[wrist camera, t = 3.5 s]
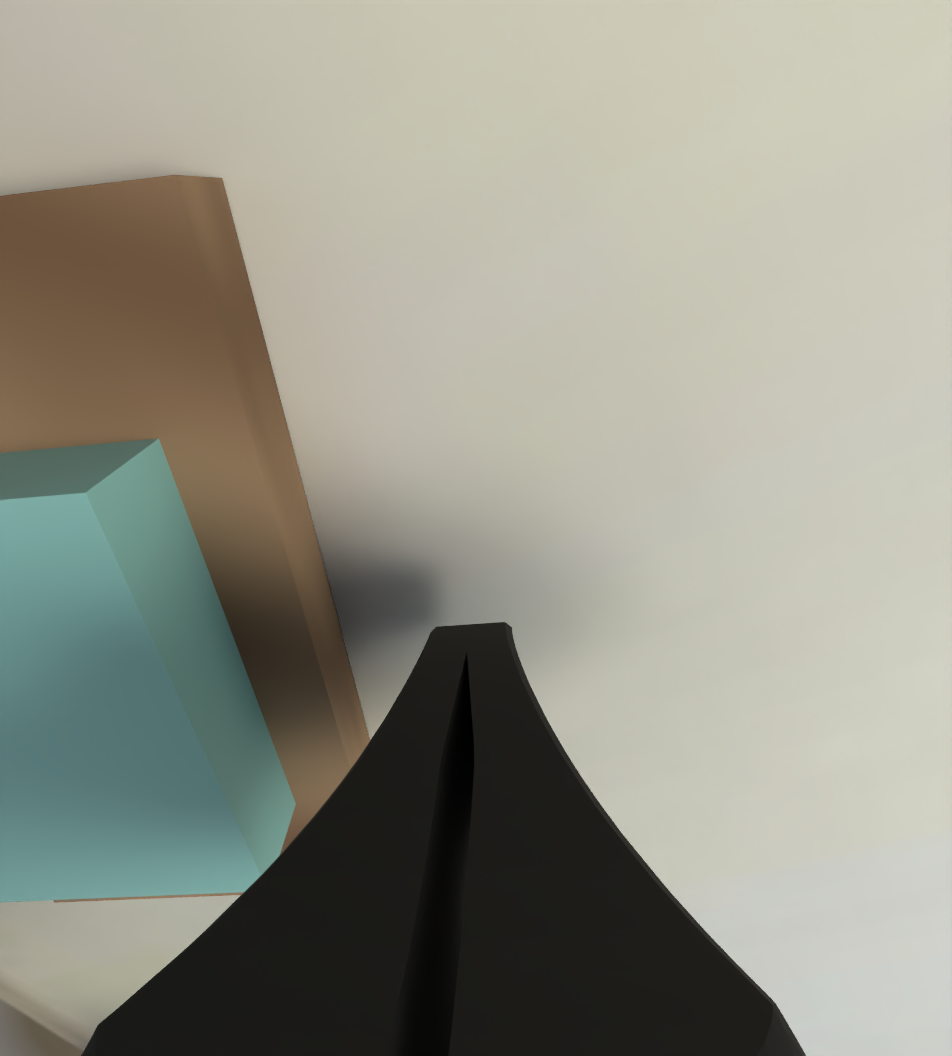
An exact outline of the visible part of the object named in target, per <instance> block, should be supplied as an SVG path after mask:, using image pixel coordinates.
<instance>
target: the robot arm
mask: <svg viewBox="0 0 952 1056" xmlns="http://www.w3.org/2000/svg"><path fill="white" fill-rule="evenodd" d="M81 1056H806V1055H805V1053H804V1051H803V1049H802V1048H801V1046H800V1044H799V1042H798V1041H797V1039H796V1037H795V1036H794V1034H793V1032H792V1030H791V1029H790V1027H789V1025H788V1024H787V1022H786V1020H785V1018H784V1017H783V1015H782V1013H781V1012H780V1010H779V1008H778V1007H777V1005H776V1004H775V1003H774V1001H773V1000H772V999H771V998H770V997H769V996H768V995H767V994H766V993H765V992H764V991H763V990H762V989H761V988H760V987H759V986H758V985H757V984H756V983H755V982H754V981H753V980H752V979H751V978H750V977H749V976H748V975H747V974H746V973H745V972H744V971H743V970H742V969H741V968H740V967H739V966H738V965H737V964H736V963H735V962H734V961H733V960H732V959H731V958H730V957H729V956H728V954H727V953H726V952H725V951H724V950H723V949H722V948H721V947H720V946H719V945H718V944H717V943H716V942H715V941H714V940H713V939H712V938H711V937H710V936H709V935H708V934H707V932H706V931H705V930H704V929H703V928H702V927H701V926H700V925H699V924H698V923H697V921H696V920H695V919H694V918H693V917H692V916H691V915H690V914H689V913H688V911H687V910H686V909H685V908H684V907H683V906H682V905H681V904H680V903H679V901H678V900H677V899H676V898H675V897H674V896H673V895H672V894H671V893H670V891H669V890H668V889H667V888H666V887H665V886H664V884H663V883H662V882H661V881H660V879H659V878H658V877H657V876H656V875H655V873H654V872H653V871H652V870H651V868H650V867H649V866H648V865H647V864H646V862H645V861H644V860H643V859H642V858H641V856H640V855H639V854H638V853H637V851H636V850H635V849H634V848H633V847H632V845H631V844H630V843H629V842H628V840H627V839H626V838H625V837H624V836H623V834H622V833H621V832H620V830H619V829H618V828H617V826H616V825H615V824H614V822H613V821H612V820H611V818H610V817H609V816H608V814H607V813H606V811H605V810H604V809H603V807H602V806H601V805H600V803H599V802H598V801H597V799H596V798H595V796H594V795H593V793H592V792H591V790H590V789H589V787H588V786H587V785H586V783H585V782H584V780H583V779H582V777H581V776H580V774H579V773H578V771H577V769H576V768H575V766H574V765H573V763H572V762H571V760H570V758H569V757H568V755H567V753H566V752H565V750H564V748H563V747H562V745H561V743H560V742H559V740H558V738H557V736H556V735H555V733H554V731H553V730H552V728H551V726H550V724H549V722H548V720H547V718H546V717H545V715H544V713H543V711H542V709H541V707H540V705H539V703H538V701H537V699H536V697H535V695H534V692H533V690H532V688H531V686H530V684H529V682H528V679H527V677H526V675H525V672H524V670H523V667H522V665H521V662H520V660H519V657H518V654H517V651H516V647H515V644H514V640H513V635H512V627H511V626H509V625H508V624H507V623H505V622H501V623H486V624H471V625H456V626H441V627H436V628H435V629H434V630H433V631H432V632H431V633H430V635H429V638H428V640H427V642H426V645H425V647H424V649H423V651H422V653H421V655H420V657H419V659H418V661H417V663H416V665H415V667H414V669H413V671H412V673H411V674H410V676H409V678H408V680H407V682H406V684H405V685H404V687H403V689H402V691H401V692H400V694H399V696H398V697H397V699H396V701H395V703H394V704H393V706H392V708H391V709H390V711H389V713H388V714H387V716H386V718H385V719H384V721H383V722H382V724H381V725H380V727H379V728H378V730H377V731H376V733H375V734H374V736H373V737H372V739H371V740H370V742H369V743H368V745H367V746H366V748H365V749H364V751H363V752H362V754H361V755H360V757H359V758H358V760H357V761H356V763H355V764H354V765H353V767H352V768H351V769H350V771H349V772H348V774H347V775H346V776H345V778H344V779H343V780H342V782H341V783H340V784H339V786H338V787H337V788H336V789H335V791H334V792H333V793H332V794H331V796H330V797H329V798H328V800H327V801H326V802H325V803H324V805H323V806H322V807H321V808H320V810H319V811H318V812H317V813H316V814H315V816H314V817H313V818H312V819H311V820H310V821H309V823H308V824H307V825H306V826H305V827H304V828H303V829H302V831H301V832H300V833H299V834H298V835H297V836H296V838H295V839H294V840H293V841H292V842H291V843H290V844H289V846H288V847H287V848H286V849H285V850H284V851H283V852H282V853H281V855H280V856H279V857H278V858H277V859H276V860H275V861H274V862H273V863H272V864H271V865H270V866H269V868H268V869H267V870H266V871H265V872H264V873H263V874H262V875H261V876H260V877H259V878H258V879H257V880H256V881H255V882H254V883H253V884H252V885H251V886H250V887H249V888H248V889H247V890H246V891H245V892H244V893H243V894H242V895H241V896H240V897H239V898H238V899H237V900H236V901H235V902H234V903H233V904H232V905H231V906H230V907H229V908H228V909H227V910H226V911H225V912H224V913H223V914H222V915H221V916H220V917H219V918H218V919H217V920H216V921H215V922H214V923H213V924H212V925H211V926H210V927H209V928H208V929H207V930H206V931H204V932H203V933H202V934H201V935H200V936H199V937H198V938H197V939H196V940H195V941H194V942H193V943H192V944H190V945H189V946H188V947H187V948H186V949H185V950H184V951H183V952H182V953H180V954H179V955H178V956H177V957H176V958H175V959H174V960H172V961H171V962H170V963H169V964H168V965H167V966H166V967H164V968H163V969H162V970H161V971H160V972H159V973H158V974H156V975H155V976H154V977H153V978H152V979H151V980H150V981H149V982H147V983H146V984H145V985H144V986H143V987H142V988H141V989H139V990H138V991H137V992H136V993H135V994H134V995H133V996H131V997H130V998H129V999H128V1000H127V1001H126V1002H125V1003H123V1004H122V1005H121V1006H120V1007H119V1008H118V1009H116V1010H115V1011H114V1012H113V1013H112V1014H111V1015H109V1016H108V1017H107V1018H106V1019H105V1020H103V1021H102V1022H101V1023H100V1024H99V1025H98V1026H97V1028H96V1030H95V1032H94V1034H93V1036H92V1038H91V1040H90V1041H89V1043H88V1045H87V1047H86V1048H85V1050H84V1052H83V1054H82V1055H81Z"/></svg>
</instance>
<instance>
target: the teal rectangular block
mask: <svg viewBox="0 0 952 1056" xmlns="http://www.w3.org/2000/svg"><path fill="white" fill-rule="evenodd" d="M295 805H296V803H295V800H294V798H293V795H292V792H291V790H290V787H289V784H288V782H287V779H286V776H285V774H284V771H283V768H282V766H281V763H280V760H279V758H278V755H277V752H276V750H275V747H274V744H273V742H272V739H271V736H270V734H269V731H268V728H267V726H266V723H265V720H264V718H263V715H262V712H261V710H260V707H259V704H258V702H257V699H256V696H255V694H254V691H253V688H252V686H251V683H250V680H249V678H248V675H247V672H246V670H245V667H244V664H243V662H242V659H241V656H240V654H239V651H238V648H237V646H236V643H235V640H234V638H233V635H232V632H231V630H230V627H229V624H228V622H227V619H226V616H225V614H224V611H223V608H222V606H221V603H220V600H219V598H218V595H217V592H216V590H215V587H214V584H213V582H212V579H211V576H210V574H209V571H208V568H207V566H206V563H205V560H204V558H203V555H202V552H201V550H200V547H199V544H198V542H197V539H196V536H195V534H194V531H193V528H192V526H191V523H190V520H189V518H188V515H187V512H186V510H185V507H184V504H183V502H182V499H181V496H180V494H179V491H178V488H177V486H176V483H175V480H174V478H173V475H172V472H171V470H170V467H169V464H168V462H167V459H166V456H165V454H164V451H163V448H162V446H161V443H160V440H159V439H148V440H137V441H126V442H115V443H104V444H93V445H82V446H71V447H60V448H49V449H38V450H27V451H16V452H5V453H0V902H20V901H45V900H69V899H93V898H118V897H142V896H166V895H191V894H215V893H239V892H245V891H246V890H247V889H248V888H249V887H250V886H251V885H252V884H253V883H254V882H255V881H256V880H257V879H258V878H259V877H260V876H261V875H262V874H263V873H264V872H265V871H266V870H267V869H268V868H269V866H270V865H271V864H272V863H273V862H274V861H275V860H276V859H277V858H278V857H279V856H280V853H281V850H282V846H283V843H284V840H285V837H286V834H287V830H288V827H289V824H290V821H291V818H292V815H293V811H294V808H295Z"/></svg>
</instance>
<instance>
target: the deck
mask: <svg viewBox="0 0 952 1056" xmlns="http://www.w3.org/2000/svg"><path fill="white" fill-rule="evenodd" d="M148 439H159V440H160V443H161V446H162V448H163V451H164V454H165V456H166V459H167V462H168V464H169V467H170V470H171V472H172V475H173V478H174V480H175V483H176V486H177V488H178V491H179V494H180V496H181V499H182V502H183V504H184V507H185V510H186V512H187V515H188V518H189V520H190V523H191V526H192V528H193V531H194V534H195V536H196V539H197V542H198V544H199V547H200V550H201V552H202V555H203V558H204V560H205V563H206V566H207V568H208V571H209V574H210V576H211V579H212V582H213V584H214V587H215V590H216V592H217V595H218V598H219V600H220V603H221V606H222V608H223V611H224V614H225V616H226V619H227V622H228V624H229V627H230V630H231V632H232V635H233V638H234V640H235V643H236V646H237V648H238V651H239V654H240V656H241V659H242V662H243V664H244V667H245V670H246V672H247V675H248V678H249V680H250V683H251V686H252V688H253V691H254V694H255V696H256V699H257V702H258V704H259V707H260V710H261V712H262V715H263V718H264V720H265V723H266V726H267V728H268V731H269V734H270V736H271V739H272V742H273V744H274V747H275V750H276V752H277V755H278V758H279V760H280V763H281V766H282V768H283V771H284V774H285V776H286V779H287V782H288V784H289V787H290V790H291V792H292V795H293V798H294V800H295V803H296V805H295V808H294V811H293V815H292V818H291V821H290V824H289V827H288V830H287V834H286V837H285V840H284V843H283V846H282V850H281V853H282V852H283V851H284V850H285V849H286V848H287V847H288V846H289V844H290V843H291V842H292V841H293V840H294V839H295V838H296V836H297V835H298V834H299V833H300V832H301V831H302V829H303V828H304V827H305V826H306V825H307V824H308V823H309V821H310V820H311V819H312V818H313V817H314V816H315V814H316V813H317V812H318V811H319V810H320V808H321V807H322V806H323V805H324V803H325V802H326V801H327V800H328V798H329V797H330V796H331V794H332V793H333V792H334V791H335V789H336V788H337V787H338V786H339V784H340V783H341V782H342V780H343V779H344V778H345V776H346V775H347V774H348V772H349V771H350V769H351V768H352V767H353V765H354V764H355V763H356V761H357V760H358V758H359V757H360V755H361V754H362V752H363V751H364V749H365V748H366V746H367V745H368V743H369V742H370V739H369V735H368V731H367V727H366V724H365V720H364V716H363V712H362V708H361V704H360V701H359V697H358V693H357V689H356V685H355V682H354V678H353V674H352V670H351V666H350V663H349V659H348V655H347V651H346V647H345V644H344V640H343V636H342V632H341V628H340V625H339V621H338V617H337V613H336V609H335V606H334V602H333V598H332V594H331V590H330V587H329V583H328V579H327V575H326V571H325V568H324V564H323V560H322V556H321V552H320V549H319V545H318V541H317V537H316V533H315V530H314V526H313V522H312V518H311V514H310V511H309V507H308V503H307V499H306V495H305V492H304V488H303V484H302V480H301V476H300V473H299V469H298V465H297V461H296V457H295V454H294V450H293V446H292V442H291V438H290V435H289V431H288V427H287V423H286V419H285V416H284V412H283V408H282V404H281V400H280V397H279V393H278V389H277V385H276V381H275V377H274V374H273V370H272V366H271V362H270V358H269V355H268V351H267V347H266V343H265V339H264V336H263V332H262V328H261V324H260V320H259V317H258V313H257V309H256V305H255V301H254V298H253V294H252V290H251V286H250V282H249V279H248V275H247V271H246V267H245V263H244V260H243V256H242V252H241V248H240V244H239V241H238V237H237V233H236V229H235V225H234V222H233V218H232V214H231V210H230V206H229V203H228V199H227V195H226V191H225V187H224V184H223V180H222V178H212V177H197V176H181V175H171V176H162V177H154V178H146V179H137V180H129V181H121V182H112V183H104V184H96V185H87V186H79V187H71V188H62V189H54V190H46V191H37V192H29V193H20V194H12V195H4V196H0V453H5V452H16V451H27V450H38V449H49V448H60V447H71V446H82V445H93V444H104V443H115V442H126V441H137V440H148ZM281 853H280V855H281ZM243 893H244V892H239V893H215V894H191V895H166V896H142V897H118V898H93V899H69V900H53V901H54V902H76V901H101V900H125V899H150V898H174V897H199V896H223V895H242V894H243Z"/></svg>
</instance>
